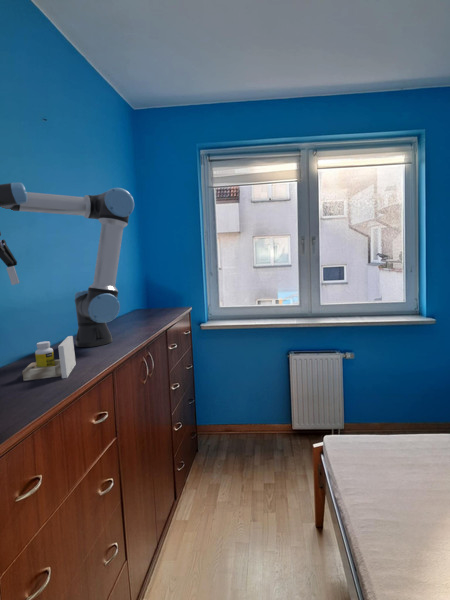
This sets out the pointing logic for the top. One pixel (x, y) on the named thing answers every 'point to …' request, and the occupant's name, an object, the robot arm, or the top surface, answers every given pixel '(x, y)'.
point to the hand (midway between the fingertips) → (5, 286)
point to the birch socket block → (41, 371)
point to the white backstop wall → (67, 356)
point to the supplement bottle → (44, 355)
